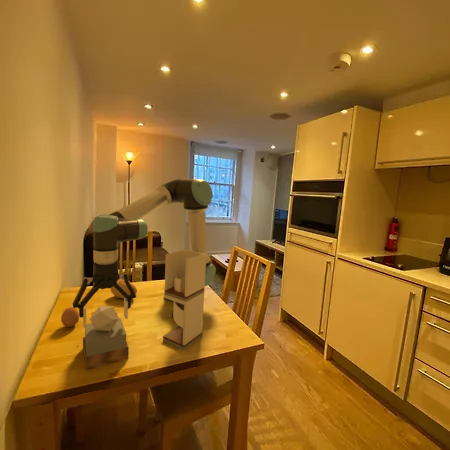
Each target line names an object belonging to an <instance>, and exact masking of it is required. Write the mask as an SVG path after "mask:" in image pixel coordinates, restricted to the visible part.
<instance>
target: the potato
mask: <svg viewBox="0 0 450 450" xmlns="http://www.w3.org/2000/svg"><path fill="white" fill-rule="evenodd" d="M128 281H129V280H128ZM117 283H118V285H119V286H120V287H121V288H122V289H123V290H124V291H125V292H126V293H127V294H128V295H130V294H131V293H130V291H129V289H128V287H127V286H126V284H125V282H124V280H122V279H121V278H119V279H118V281H117ZM129 283H130V285H131V287H132V289H133V290H134V292H135V294H137V292H138V289H137V287H136V285H135V284H134V283H132V282H131V281H129ZM110 292H111V294H112V295H113V296H114V297H116V298H119V299H122V300H124V299H126V298H125V297H124V296H123V295H122V294H121V293H120V292H119V291H118V290H117V289H116V288H115V287H114V286H113V287H111V288H110Z"/></svg>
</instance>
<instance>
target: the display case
mask: <svg viewBox="0 0 450 450" xmlns="http://www.w3.org/2000/svg"><path fill="white" fill-rule="evenodd" d="M164 261H165V263H164V265H165V267H164V270H165V272H164V296H163V297H164V299H165V300H167V299H169V300H172V301H171V302H173V301H174V302H173V308H172V312H173V318H174V319H173V318H172V319H173V320H174V322H175V323H176V325H178V326H177V327H174V328H173V329H172V330H170V331H168V332H167V333H165V334H164V335H163V336H162V341H163V342H164V343H168V344H169V345H171V346H174V347H176V348H177V349H180V350H182V351H186V350H187V349H188V348H189V347H191V346H192V345H193V344H195V343H196V342H197V341H198V340H200V339H201V338H202V337H203V324H204V323H203V321H204V305H205V304H204V303H205V287H206V286H205V270H206V254H205V253H200V252H196V251H191V250H190V249H186V248H184V249H181V250H177V251H173V252H170V253H165V260H164ZM169 300H168V301H169Z"/></svg>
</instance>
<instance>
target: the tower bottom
mask: <svg viewBox="0 0 450 450" xmlns="http://www.w3.org/2000/svg"><path fill="white" fill-rule="evenodd" d="M129 349H130V348H129V344H128V342H127V341H126V347H125V348H121V349H117V350H113V351H109V352H105V353H101V354H96V355H92V356H88V357H87V352H86V342H85V336H83V337H82V353H83V358H84V364H85V369H86V371H90V370H93V369H97V368H101V367H104V366H107V365H111V364H115V363H118V362H121V361H124V360H129V355H130V354H129Z"/></svg>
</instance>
